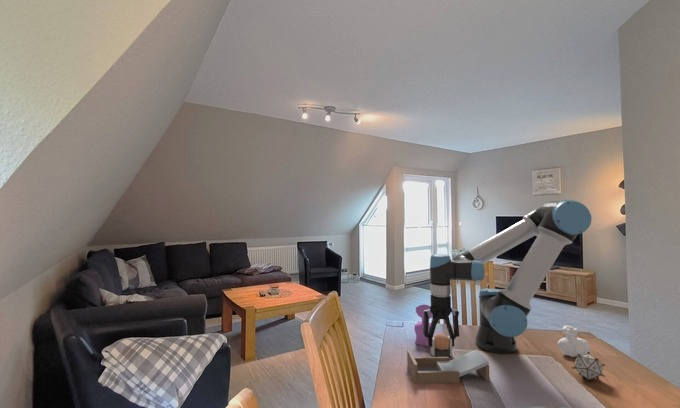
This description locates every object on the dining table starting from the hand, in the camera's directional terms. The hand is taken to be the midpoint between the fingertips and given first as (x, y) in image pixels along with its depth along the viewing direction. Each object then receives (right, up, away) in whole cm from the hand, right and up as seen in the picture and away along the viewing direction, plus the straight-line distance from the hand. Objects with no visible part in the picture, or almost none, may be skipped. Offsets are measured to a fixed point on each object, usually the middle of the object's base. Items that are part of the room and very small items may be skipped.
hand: (441, 354), depth 123 cm
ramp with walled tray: (-2, 0, -14) cm, 14 cm away
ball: (0, +2, 0) cm, 2 cm away
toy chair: (-3, -1, +13) cm, 13 cm away
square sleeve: (0, 0, 0) cm, 0 cm away
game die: (+43, 0, -18) cm, 47 cm away
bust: (+51, 0, 0) cm, 51 cm away
